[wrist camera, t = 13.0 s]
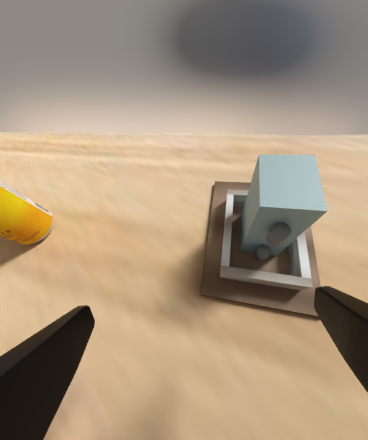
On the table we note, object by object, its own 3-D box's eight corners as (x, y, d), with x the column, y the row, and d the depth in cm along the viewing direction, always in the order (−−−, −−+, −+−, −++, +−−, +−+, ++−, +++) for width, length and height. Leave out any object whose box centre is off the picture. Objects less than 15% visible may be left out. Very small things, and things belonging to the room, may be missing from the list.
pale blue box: (277, 266, 19) (330, 228, 10) (239, 260, 20) (260, 221, 11) (274, 217, 22) (315, 155, 13) (241, 214, 23) (259, 154, 14)
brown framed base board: (322, 317, 17) (342, 318, 14) (201, 294, 19) (198, 292, 17) (302, 187, 24) (313, 171, 21) (215, 184, 26) (215, 169, 24)
